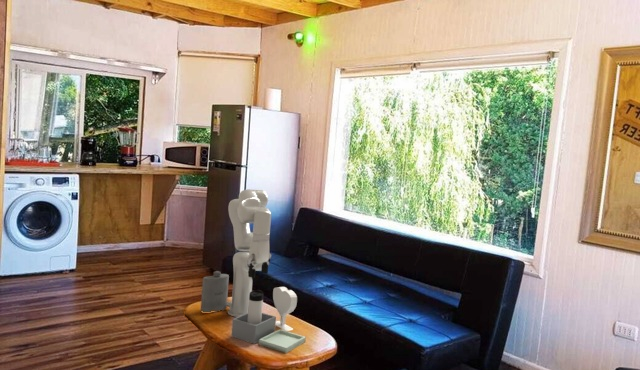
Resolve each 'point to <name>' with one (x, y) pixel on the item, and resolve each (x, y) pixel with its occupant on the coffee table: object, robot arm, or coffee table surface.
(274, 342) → the tray
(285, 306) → the heart sculpture
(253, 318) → the travel mug
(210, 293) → the flask
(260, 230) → the robot arm
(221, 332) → the coffee table surface
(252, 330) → the deep bin
